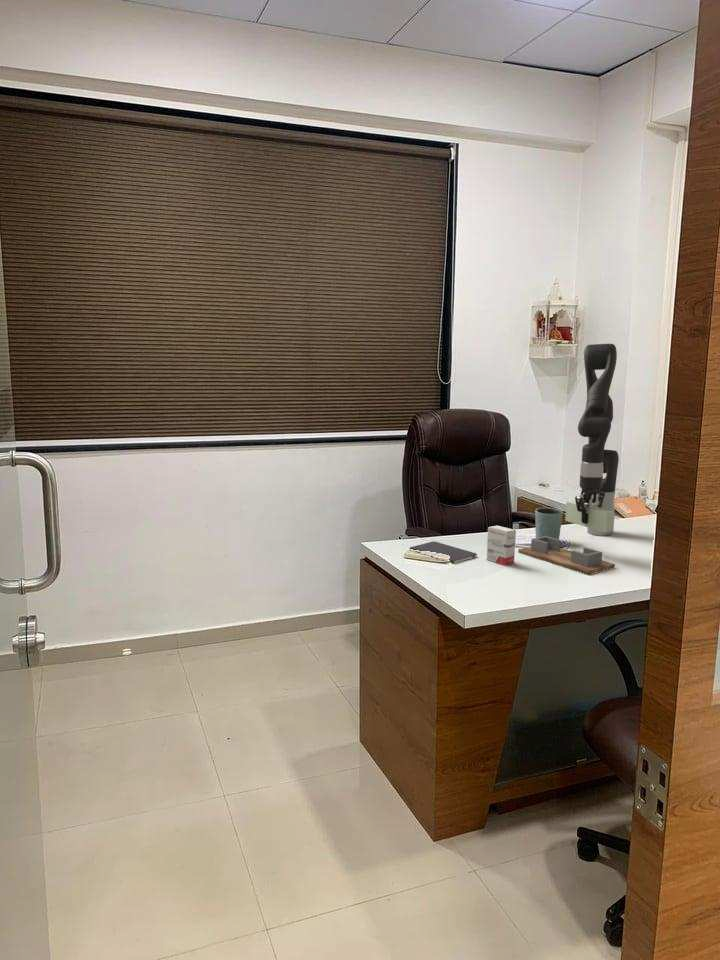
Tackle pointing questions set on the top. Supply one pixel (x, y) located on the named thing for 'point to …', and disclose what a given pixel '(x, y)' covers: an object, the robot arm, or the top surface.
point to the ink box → (501, 545)
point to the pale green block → (591, 517)
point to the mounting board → (565, 560)
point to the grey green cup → (548, 522)
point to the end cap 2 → (586, 557)
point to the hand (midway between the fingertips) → (588, 522)
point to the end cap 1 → (545, 544)
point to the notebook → (446, 551)
